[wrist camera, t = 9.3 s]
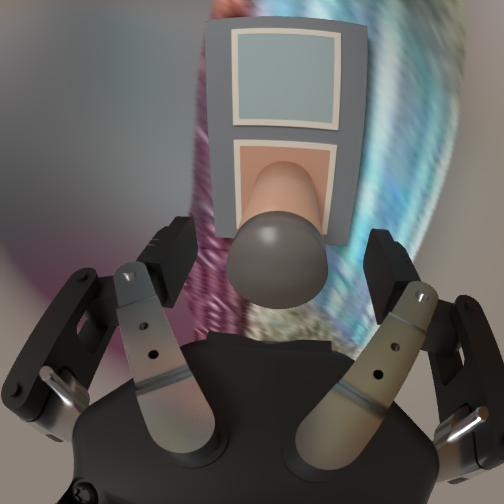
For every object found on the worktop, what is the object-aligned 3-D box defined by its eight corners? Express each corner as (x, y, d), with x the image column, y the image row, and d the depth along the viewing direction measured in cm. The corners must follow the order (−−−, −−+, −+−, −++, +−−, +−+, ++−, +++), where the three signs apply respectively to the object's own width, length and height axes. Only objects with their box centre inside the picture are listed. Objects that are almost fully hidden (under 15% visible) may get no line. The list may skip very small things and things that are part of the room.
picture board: (209, 23, 13) (204, 20, 12) (363, 28, 12) (367, 25, 11) (218, 230, 22) (215, 237, 21) (344, 238, 21) (346, 246, 20)
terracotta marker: (243, 179, 18) (205, 256, 11) (294, 150, 16) (296, 208, 9) (274, 224, 20) (261, 319, 12) (324, 199, 18) (343, 287, 11)
